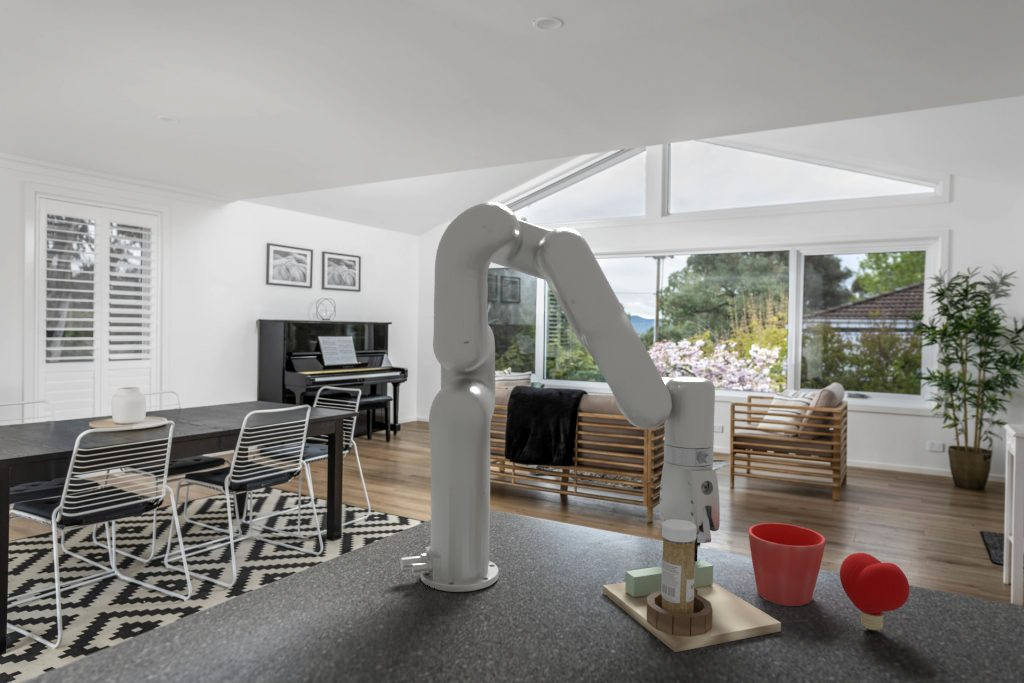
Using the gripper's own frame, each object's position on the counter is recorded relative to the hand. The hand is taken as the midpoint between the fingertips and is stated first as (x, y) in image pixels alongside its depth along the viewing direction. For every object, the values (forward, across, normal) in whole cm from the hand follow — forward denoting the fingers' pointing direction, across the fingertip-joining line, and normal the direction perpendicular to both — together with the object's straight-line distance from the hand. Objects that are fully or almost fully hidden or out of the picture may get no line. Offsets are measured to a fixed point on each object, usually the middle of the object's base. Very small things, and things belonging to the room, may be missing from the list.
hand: (685, 569), depth 106 cm
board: (+2, -8, +6) cm, 10 cm away
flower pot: (+3, -9, -12) cm, 15 cm away
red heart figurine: (+3, -22, -15) cm, 26 cm away
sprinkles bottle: (+1, -12, +10) cm, 16 cm away
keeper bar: (+1, -3, +5) cm, 6 cm away
